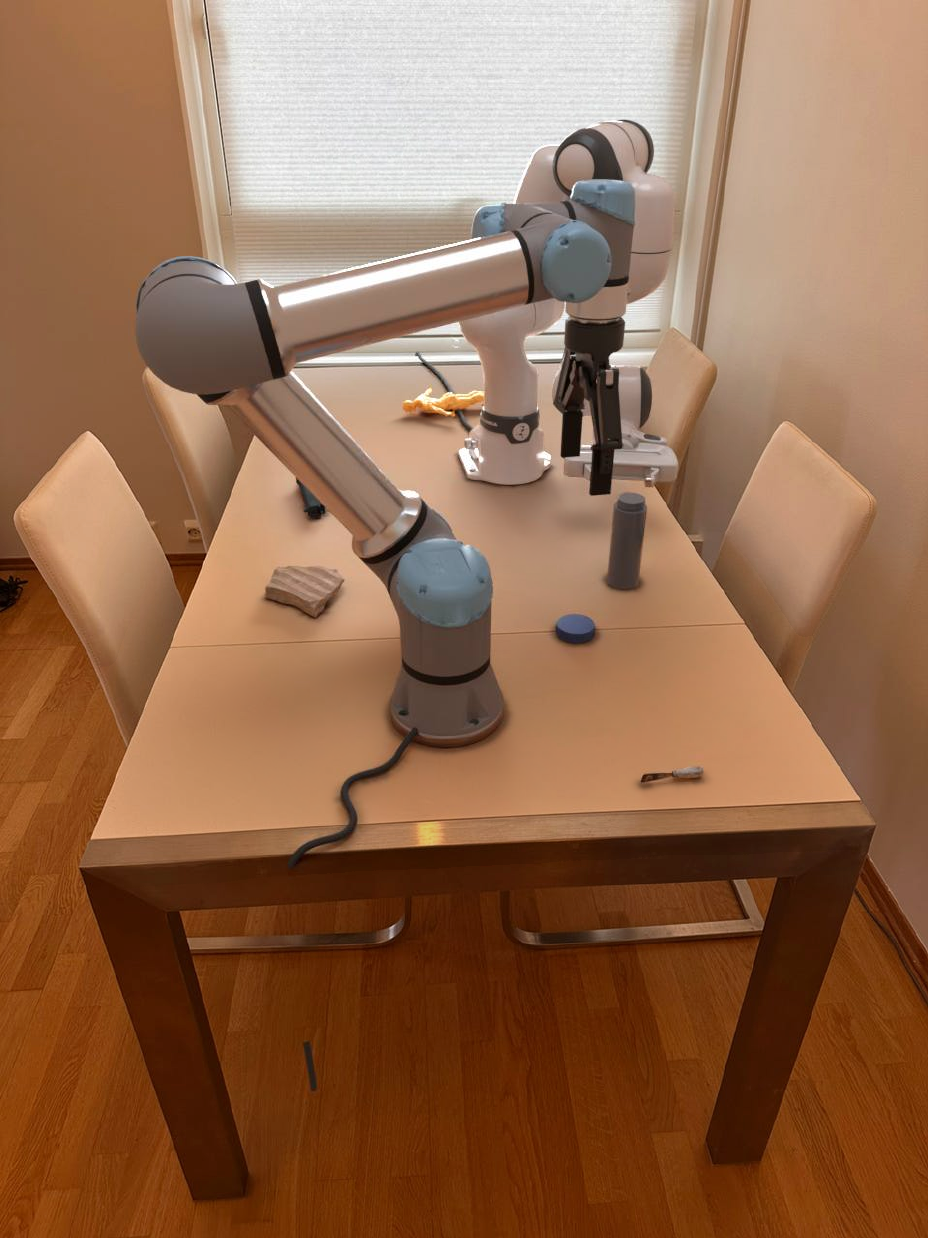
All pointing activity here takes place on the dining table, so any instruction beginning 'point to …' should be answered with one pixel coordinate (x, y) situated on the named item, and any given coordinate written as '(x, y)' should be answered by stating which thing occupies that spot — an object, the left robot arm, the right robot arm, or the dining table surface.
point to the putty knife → (674, 774)
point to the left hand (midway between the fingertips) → (584, 474)
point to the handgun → (311, 502)
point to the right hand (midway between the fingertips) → (622, 482)
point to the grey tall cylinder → (626, 541)
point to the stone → (304, 587)
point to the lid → (575, 628)
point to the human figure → (443, 402)
